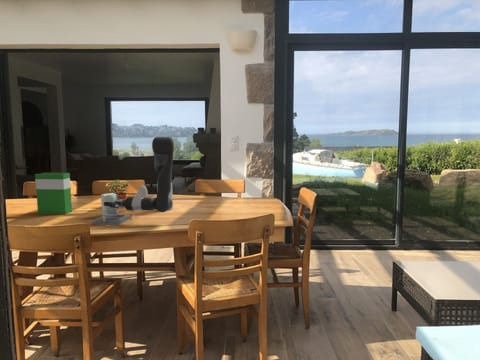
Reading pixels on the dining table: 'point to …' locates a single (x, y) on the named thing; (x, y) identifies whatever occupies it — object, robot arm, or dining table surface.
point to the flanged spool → (111, 210)
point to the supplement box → (103, 199)
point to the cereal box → (53, 193)
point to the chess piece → (142, 192)
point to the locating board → (111, 220)
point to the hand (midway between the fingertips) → (106, 202)
